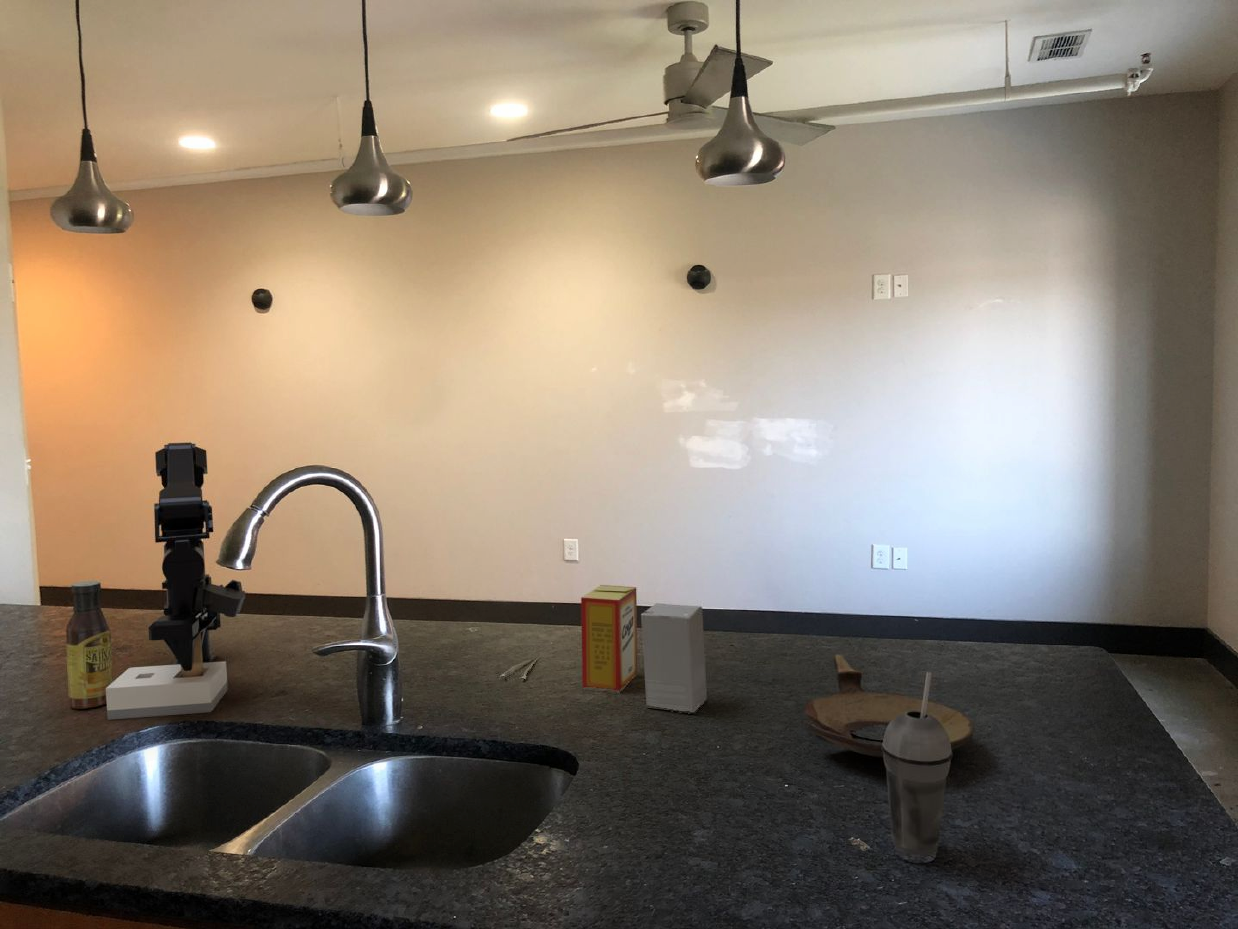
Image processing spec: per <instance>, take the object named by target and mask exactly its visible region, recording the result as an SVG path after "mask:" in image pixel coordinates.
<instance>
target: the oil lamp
mask: <svg viewBox="0 0 1238 929" xmlns="http://www.w3.org/2000/svg"><path fill="white" fill-rule="evenodd" d="M833 665H834V668H835V669H834V670H835V673H836V679H837V680H836V681H837V685H838V689H839V693H837V694H833V695H827V696H821V697H818V698H816V699H813V700H810V701H809V702H808V703H807V704H806V707H805V711H804V715H805V716H806V717H807V718H809V719H810V720H811V721H812V722H813V723H814V724H813V723H810V722H809V723H808V724H807V729H808V730H810V731H811V732H813V733H814V734H816V735H817V736H820V737H821V738H822V739H825V740H826V741H828V742H830V743H832V744H835V745H837V746H840V747H842V748H845V749H846V750H850V751H852V752H855V753H859V754H861V755H865V756H871V757H875V758H876V757H879V758H883V750H882V749H881V746H882V743H877V744H876V743H873V742H872V743H869V742H864V741H860V740H857V739H854V738H853V736H852V734H850V732H856V731H857V730H862V729H863V728H865V727H868V726H869V727H870V726H871V727H873V726H874V725H877V726H878V725H885V726H888V725H889V723H890V722H891V721H892V720H893V719H894V718H895V717H897V716H898V715H899V714H902V713H904V712H907V711H921V709H922V702H923V699H919V698H914V697H909V696H903V695H899V694H894V693H893V694H891V693H884V692H883V693H881V692H869V691H865V690H864V689H863V688H862V682H861V681H862V678H863V677H862V671H860V670H855V669H853V667H852V666H851V665H850V664H849V663H848V661H847V660H846V658H845V657H844V656H843V655H841V654H839V653H836V654H834V656H833ZM926 713H927V714H929V715H931V716H932V717H934V718H936V719H937V720H938V721H939V722H940V723H941V725H942V726H943V727H944V728H945V730H946V732H947V734H948V736H949V739H950V743H951V750H952V751H953V750H954V749H957V748H960V747H961V746H963V745H965V744H967V743H968V742H970V741H971V739H972V738H973V735H974V732H975V726H974V723H973V721H972V720H971V719H970V718H969V717H968V716H966V715H964V713H962V712H961V711H960V710H957V709H954V708H951V707H949V706H947V705H944V704H942V703H937V702H935V701H929V700H928V702H927V709H926ZM815 724H816V725H817V726H816V725H815ZM819 726H820V727H819Z"/></svg>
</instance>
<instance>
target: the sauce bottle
mask: <svg viewBox="0 0 1238 929" xmlns="http://www.w3.org/2000/svg"><path fill="white" fill-rule="evenodd" d="M70 589H71V594H72V595H73V599H72V600H73V608H72V610H73V614H72V616H71V617H70V619H69V621H68V623H67V625H66V628H65V629H66V630H65V631H66V632H65V634H66V642H65V646H66V647H65V648H66V651H65V652H66V667H67V668H66V670H67V671H66V673H67V690H68V697H69V706H70V707H71V708H73V709H80V710H86V709H87V710H88V709H92V708H96V707H100V706H103V705H107V701H106V688H107V687H108V686H109V685H110V684H111V683H112V682H114V677H113V673H114V672H113V657H112V656H113V654H112V652H113V651H112V635H111V634H112V632H111V629H110V627H109V625H108V622H107V620H106V617H105V615H104V612H103V610H102V604H101V590H102V586H101V582H100V581H97V580H93V581H92V580H91V581H89V580H88V581H82V582H76V583H72V584H71V588H70Z"/></svg>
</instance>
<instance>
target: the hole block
mask: <svg viewBox="0 0 1238 929" xmlns="http://www.w3.org/2000/svg"><path fill="white" fill-rule="evenodd" d="M227 673H228V671H227V661H212V662H209V663H203V676H199V677H184V678H181V665H180V664H179V665H171V664H167V665H165V664H164V665H163V664H162V665H152V666H151V665H150V666H149V665H147V666H136V667H134V666H133V667H129V668H127V669H126V670H125V671H124V672H122V673H121V674H120V675H119V676H118V677H117V678H116V679H114V680H113V682H112V683H111V684H110V685H109V686H108V687H107V688H106V701H107V703H106V711H107V712H106V714H107V721H108V720H109V721H110V720H111V721H112V720H123V719H125V720H126V719H135V718H136V719H137V718H149V717H150V718H151V717H165V716H175V715H177V716H178V715H189V714H191V715H192V714H203V713H212V712H213V711H214V709H215V708H216V707H217V705H218V703H219V702H220V701H221V700H222V699H223V697H224V695H226V693H227V692H228V691H229V690H228V676H227V675H228V674H227ZM220 699H221V700H220ZM211 711H212V712H211Z"/></svg>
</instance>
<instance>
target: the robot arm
mask: <svg viewBox="0 0 1238 929" xmlns="http://www.w3.org/2000/svg"><path fill="white" fill-rule="evenodd" d="M163 446H164V447H163V448H161V449H159V450H157V451H155V453H154V455H155V456H154V458H155V473H156V476H157V477H160V479H161V480H160V481H161V485H162V487H163V488H162V489H161V490H159V492H158V502H157V503H156V502H155V503H154V504H153V505H154V506H153V508H154V510H153V512H154V515H153V516H154V542H155V543H156V544H157V543H164V545H163V560H162V565H161V569H162V574H163V576H164V578H165V580H164V581H163V582H161V590H166V602H164V604H163V605H164V607H163V615H161V616H160V617H159V618H157V619H156V620H154V622H152V624H151V625H150V626H149V627H147V628H148V640H149V641H163V642H164V643H165V645H167V647H168V648H169V650H170V651H171V653H172V654H173V656H174V657H175V659H176V660H174V661H173V663H171V664H170V665H179V664H180V665H181V667H182V668H183V670H184V671H191V670H192V666H193V658H194V648H195V639H196V637H197V636H198V635H199V634H201V645H202V661H203V663H209V662H214V660H215V658H216V657H217V656H218V655H217V654H218V653H216V652H215V653H214V652H213V653H212V652H211V641H210V637H211V636H210V631H217V630H218V629H219V628H222V627H221V614H222V615H224V616H225V617H228V618H235V617H237V615H238V614H239V613H240V612H241V609H242V606H243V603H244V600H246V590H243V586H242V582H241V581H238V580H235V579H232V580H230V581H229V582H228V583H227V584H226V585H224V584H219V585H218V584H217V585H216V584H214V583H212V577H211V576H210V574H206V563H205V548H204V547H205V546H204V542H203V540H206V539H211V538H210V537H211V536H210V533H214V522H213V521H214V518H213V506H211V505H210V502H209V501H208V500H207V499H204V500H203V490H202V487H203V486H204V482H205V480H204V479H205V478H204V475H208V457H207V450H206V449H205V448H201V447H198V446H197V445H196V443H192V442H189V441H188V442H171V443H170V442H169V443H168V442H167V444H164V445H163ZM204 529H205V531H204ZM160 532H161V534H160Z"/></svg>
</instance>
